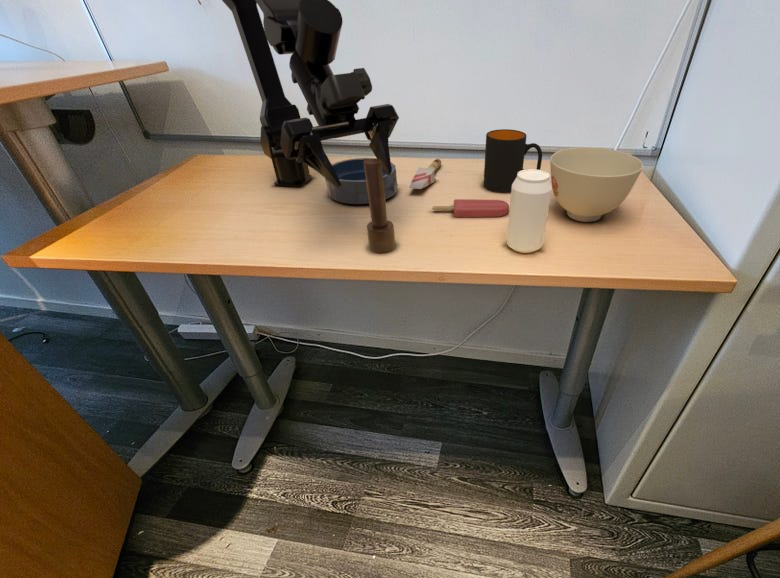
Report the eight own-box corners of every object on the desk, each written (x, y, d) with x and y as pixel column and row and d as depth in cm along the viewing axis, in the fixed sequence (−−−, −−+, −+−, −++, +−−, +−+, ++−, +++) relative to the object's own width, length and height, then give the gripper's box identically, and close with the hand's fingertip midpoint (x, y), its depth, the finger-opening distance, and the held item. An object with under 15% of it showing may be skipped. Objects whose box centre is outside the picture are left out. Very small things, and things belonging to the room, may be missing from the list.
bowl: (632, 236, 74) (650, 178, 67) (541, 230, 76) (550, 173, 69) (621, 201, 85) (636, 149, 78) (542, 196, 87) (550, 145, 81)
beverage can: (501, 252, 70) (508, 178, 62) (510, 236, 74) (518, 165, 66) (538, 258, 68) (550, 183, 60) (545, 241, 72) (557, 170, 64)
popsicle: (432, 198, 83) (507, 198, 83) (433, 206, 84) (507, 206, 84) (431, 209, 79) (510, 209, 79) (432, 217, 80) (509, 217, 80)
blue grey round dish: (318, 204, 85) (313, 179, 81) (343, 179, 95) (339, 156, 92) (387, 209, 83) (384, 183, 80) (404, 183, 94) (403, 159, 90)
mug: (537, 195, 88) (544, 142, 81) (481, 191, 90) (483, 139, 83) (538, 181, 94) (545, 131, 87) (485, 178, 96) (488, 128, 89)
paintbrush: (405, 180, 86) (430, 155, 101) (406, 193, 88) (430, 167, 103) (423, 181, 85) (445, 156, 100) (423, 195, 87) (446, 168, 102)
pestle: (366, 252, 70) (353, 164, 60) (374, 240, 73) (362, 155, 64) (391, 254, 69) (382, 166, 60) (398, 242, 72) (390, 157, 63)
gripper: (263, 51, 54) (319, 163, 55) (386, 41, 62) (432, 138, 63) (261, 110, 63) (308, 204, 64) (367, 95, 72) (407, 177, 73)
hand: (365, 180), depth 66 cm, fingers open, 9 cm apart
